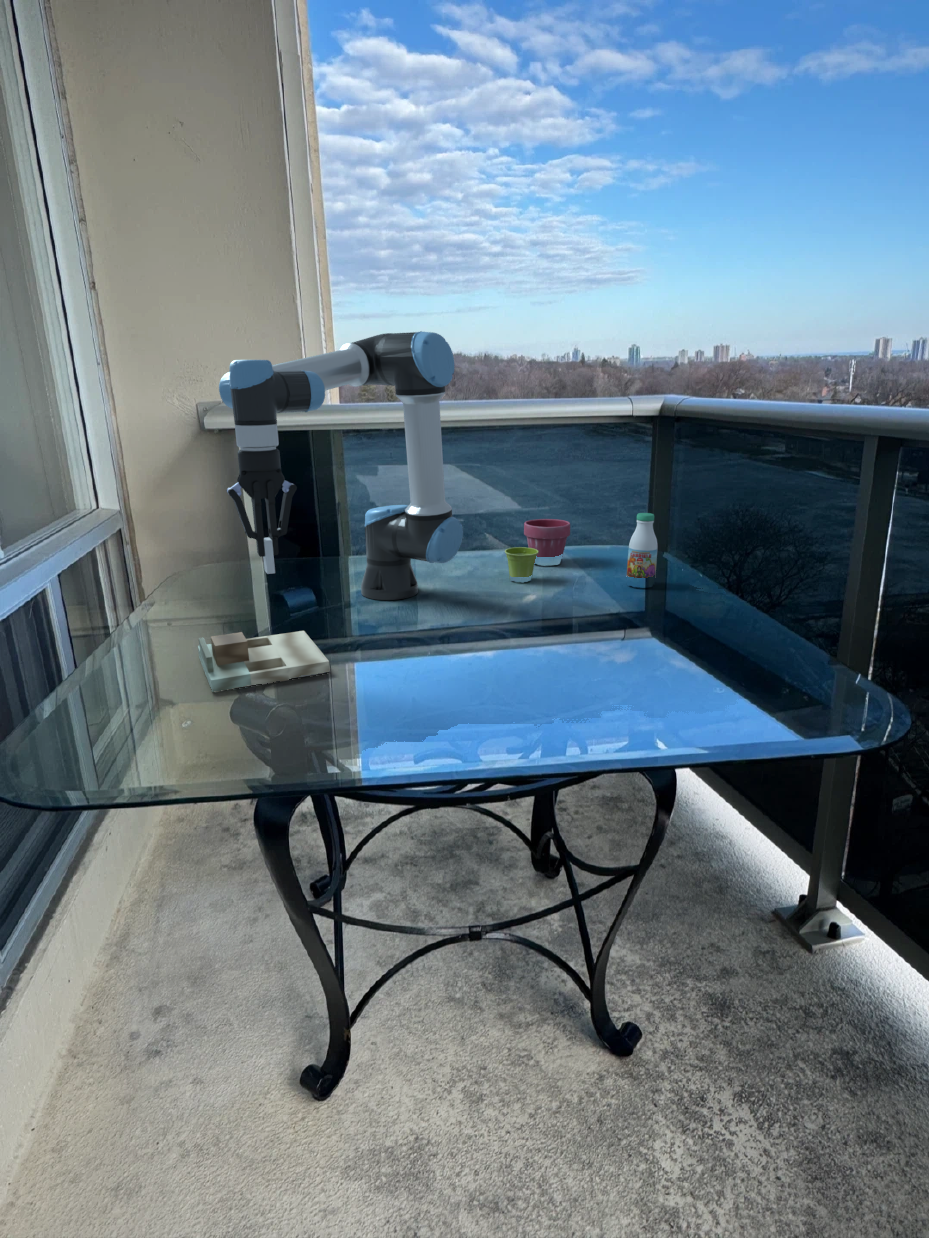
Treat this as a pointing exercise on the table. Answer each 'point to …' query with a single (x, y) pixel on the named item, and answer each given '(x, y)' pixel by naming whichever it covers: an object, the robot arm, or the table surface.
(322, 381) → the robot arm
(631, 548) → the milk bottle
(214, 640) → the block
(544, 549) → the plant pot
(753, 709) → the table surface
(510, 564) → the plant pot
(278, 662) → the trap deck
